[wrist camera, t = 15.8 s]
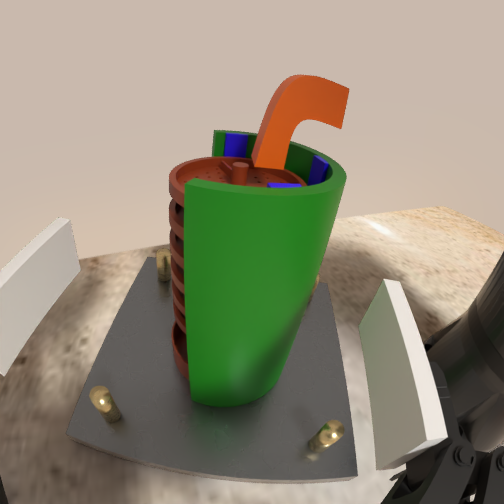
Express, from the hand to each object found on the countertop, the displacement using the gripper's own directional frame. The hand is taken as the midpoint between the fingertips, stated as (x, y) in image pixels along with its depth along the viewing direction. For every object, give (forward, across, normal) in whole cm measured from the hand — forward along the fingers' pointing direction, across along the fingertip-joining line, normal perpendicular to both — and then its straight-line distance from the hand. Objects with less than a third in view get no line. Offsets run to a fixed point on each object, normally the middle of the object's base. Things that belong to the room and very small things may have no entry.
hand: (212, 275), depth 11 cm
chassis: (+6, 0, -14) cm, 15 cm away
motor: (+6, +1, -12) cm, 14 cm away
